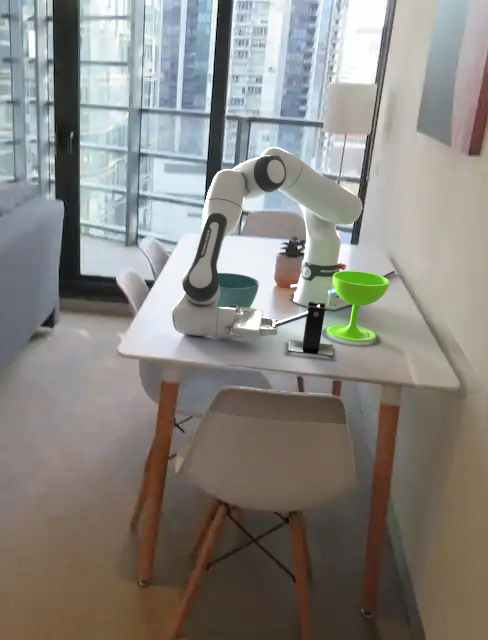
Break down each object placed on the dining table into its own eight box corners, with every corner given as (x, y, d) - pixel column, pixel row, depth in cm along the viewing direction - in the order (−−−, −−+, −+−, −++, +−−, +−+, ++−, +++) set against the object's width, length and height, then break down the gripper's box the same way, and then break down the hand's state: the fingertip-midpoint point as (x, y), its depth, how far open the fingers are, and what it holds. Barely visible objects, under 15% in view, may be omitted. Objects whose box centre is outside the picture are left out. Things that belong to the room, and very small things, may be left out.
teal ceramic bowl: (186, 311, 231) (189, 274, 226) (235, 306, 238) (239, 270, 233) (214, 329, 216) (218, 290, 211) (265, 324, 222) (270, 286, 218)
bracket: (287, 354, 199) (294, 307, 194) (288, 343, 207) (295, 298, 202) (332, 360, 197) (340, 312, 191) (331, 348, 205) (338, 302, 199)
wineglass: (346, 348, 206) (357, 287, 199) (312, 330, 219) (321, 272, 212) (390, 342, 212) (401, 283, 205) (354, 325, 225) (364, 269, 218)
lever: (272, 333, 199) (269, 325, 199) (273, 326, 205) (270, 319, 204) (322, 316, 194) (319, 308, 194) (322, 310, 200) (319, 302, 199)
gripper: (225, 323, 193) (277, 328, 191) (232, 302, 212) (279, 306, 209) (224, 345, 196) (275, 350, 193) (230, 322, 214) (277, 326, 212)
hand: (277, 327), depth 201 cm, fingers closed on lever, 6 cm apart
